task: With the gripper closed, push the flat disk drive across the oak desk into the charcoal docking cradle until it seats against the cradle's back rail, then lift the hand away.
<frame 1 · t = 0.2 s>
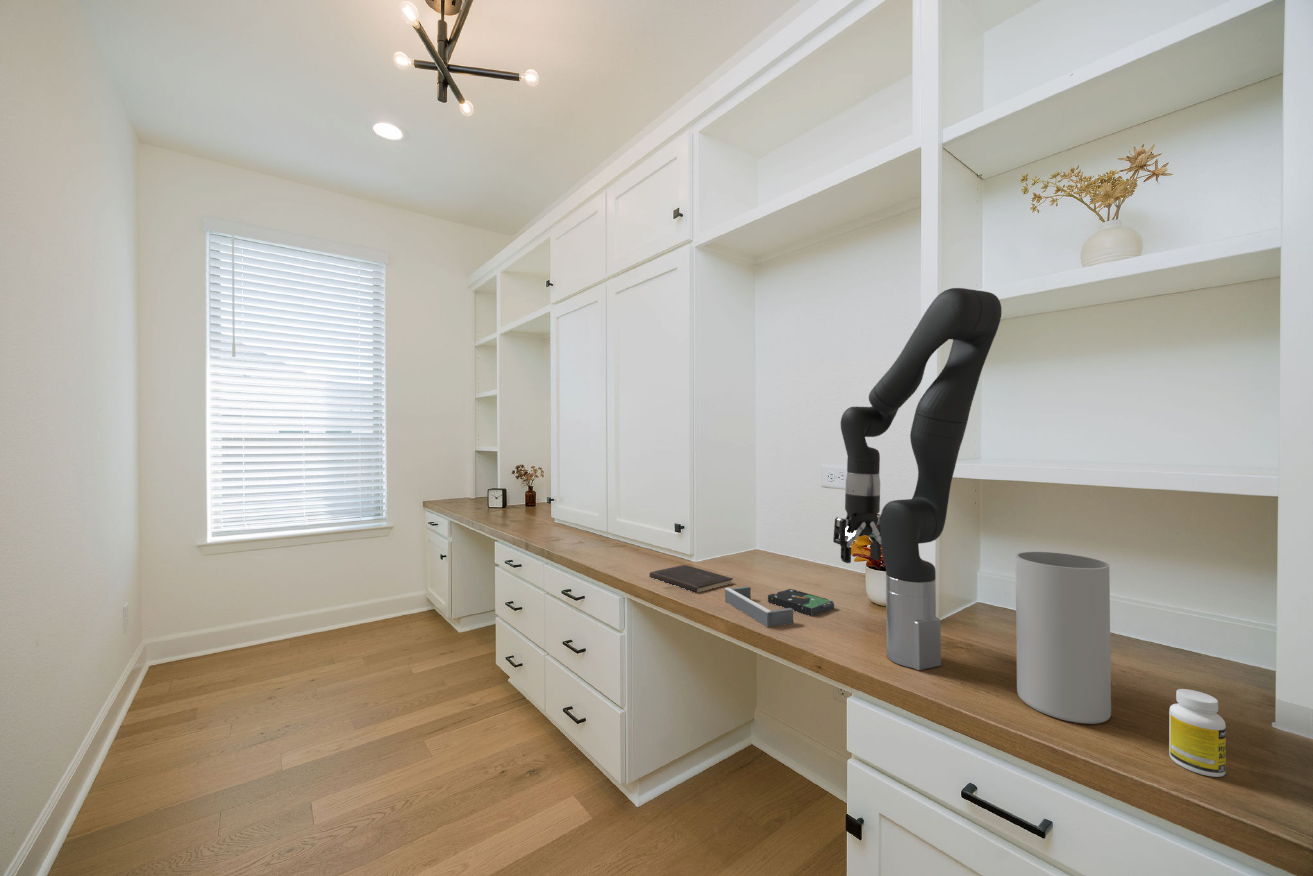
hand: (860, 560, 118), 17 cm above the worktop, tool pointing down, fingers open, 8 cm apart
cylinder vase: (1061, 706, 86), on the worktop
disk drive: (800, 608, 139), on the worktop
hardcover book: (690, 582, 164), on the worktop
supplement bottle: (1197, 767, 70), on the worktop
dock: (756, 611, 134), on the worktop
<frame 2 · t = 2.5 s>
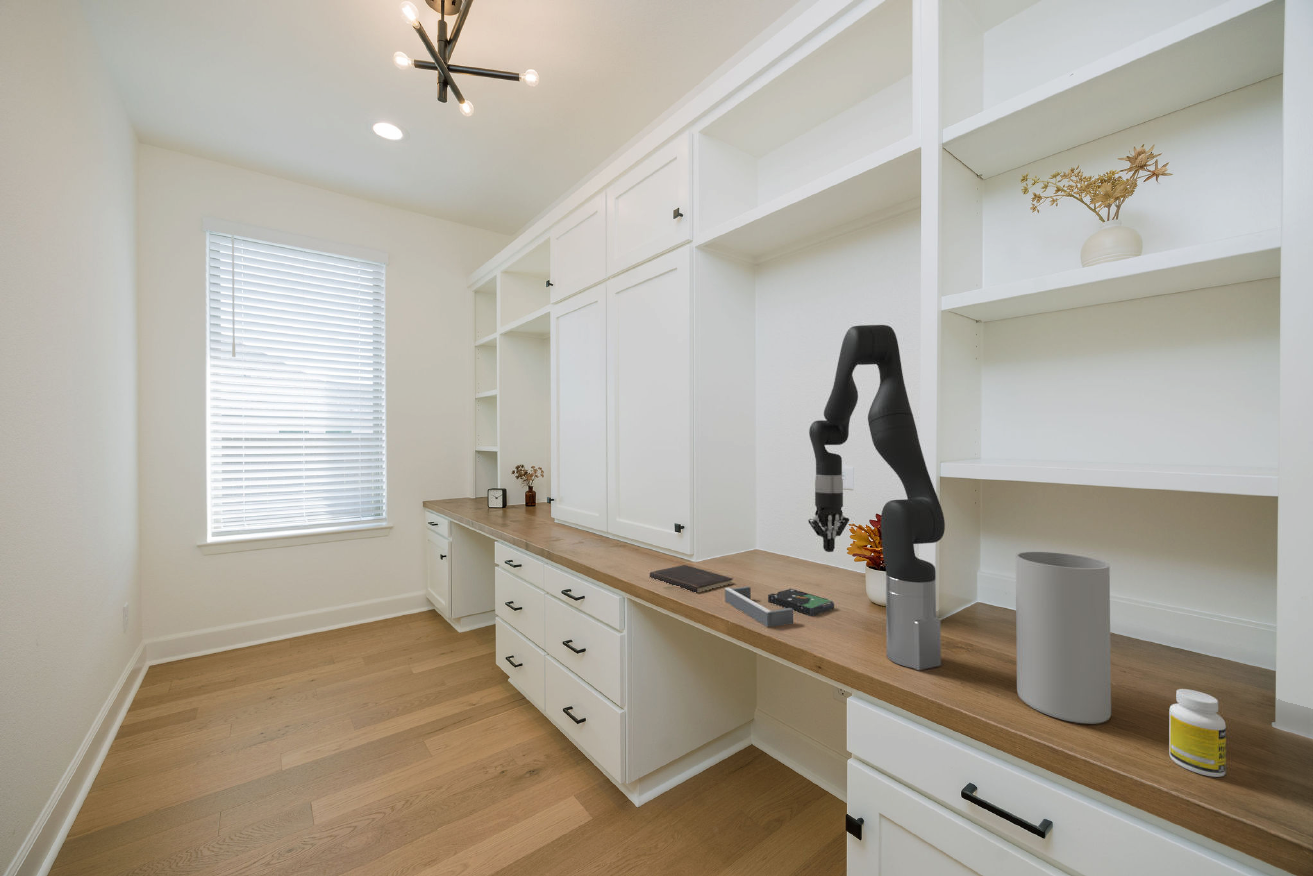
hand: (829, 551, 143), 14 cm above the worktop, tool pointing down, fingers closed
nothing on the worktop moved.
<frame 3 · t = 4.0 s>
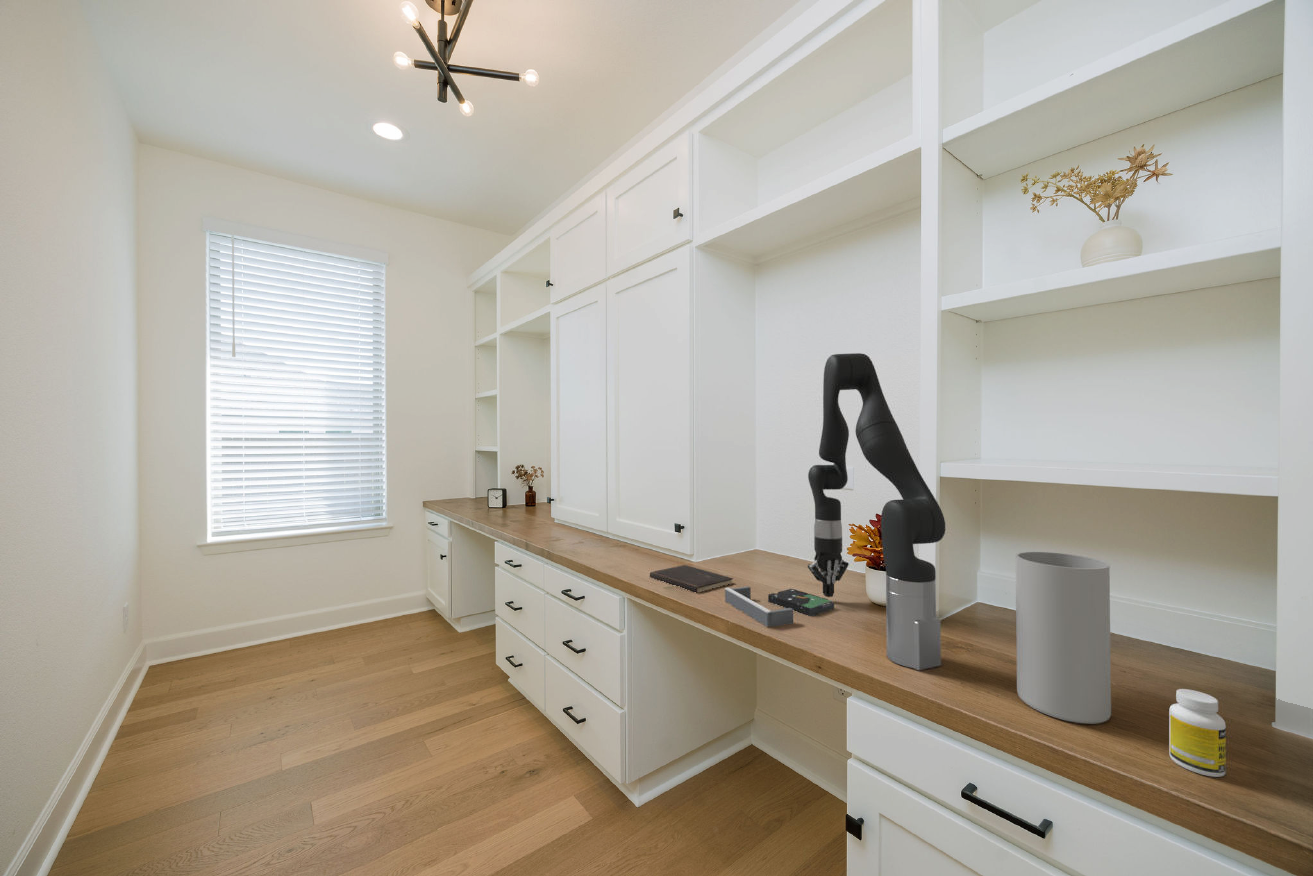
hand: (828, 596, 142), 1 cm above the worktop, tool pointing down, fingers closed
nothing on the worktop moved.
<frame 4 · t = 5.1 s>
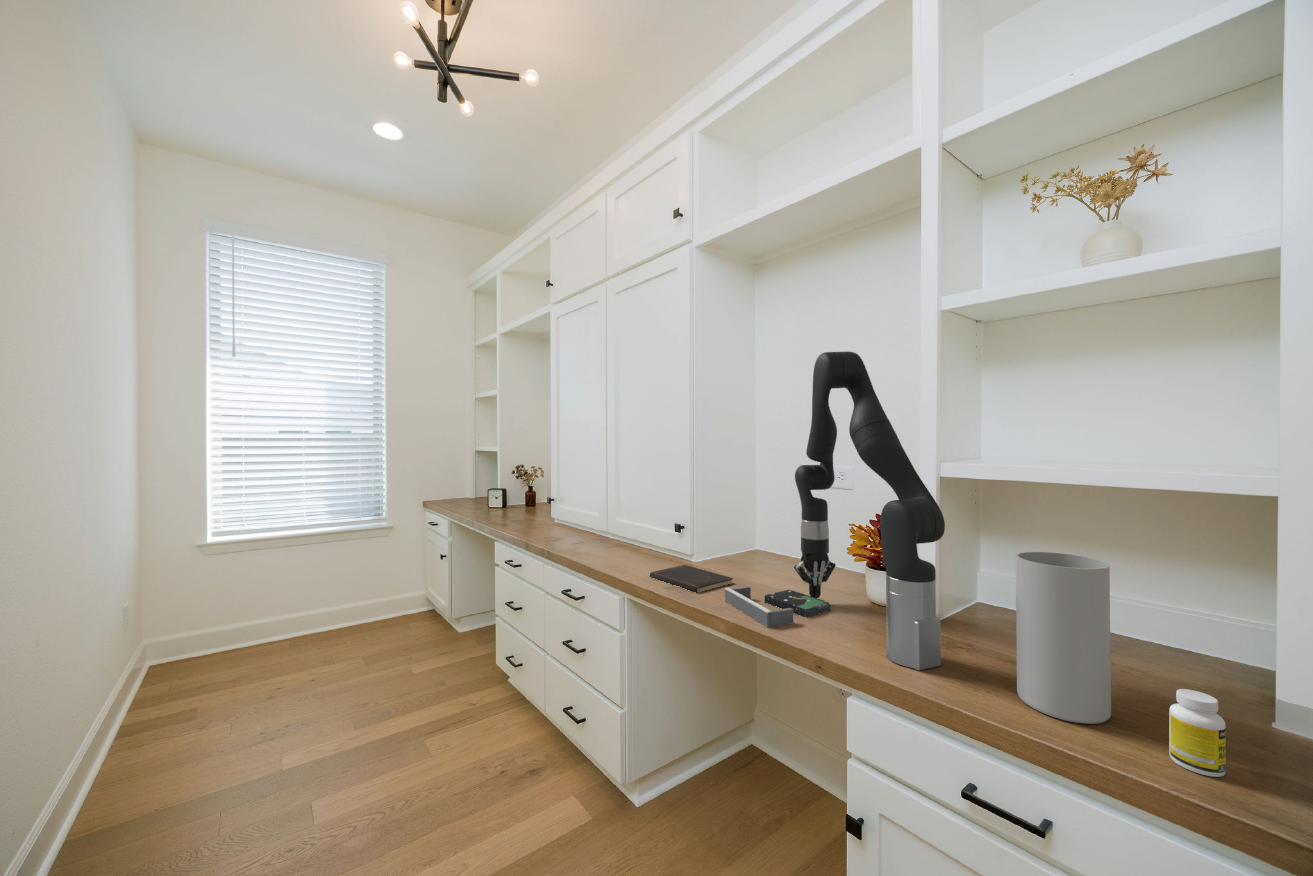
hand: (815, 597, 141), 2 cm above the worktop, tool pointing down, fingers closed
disk drive: (796, 609, 138), on the worktop, touching gripper
everything else where it was.
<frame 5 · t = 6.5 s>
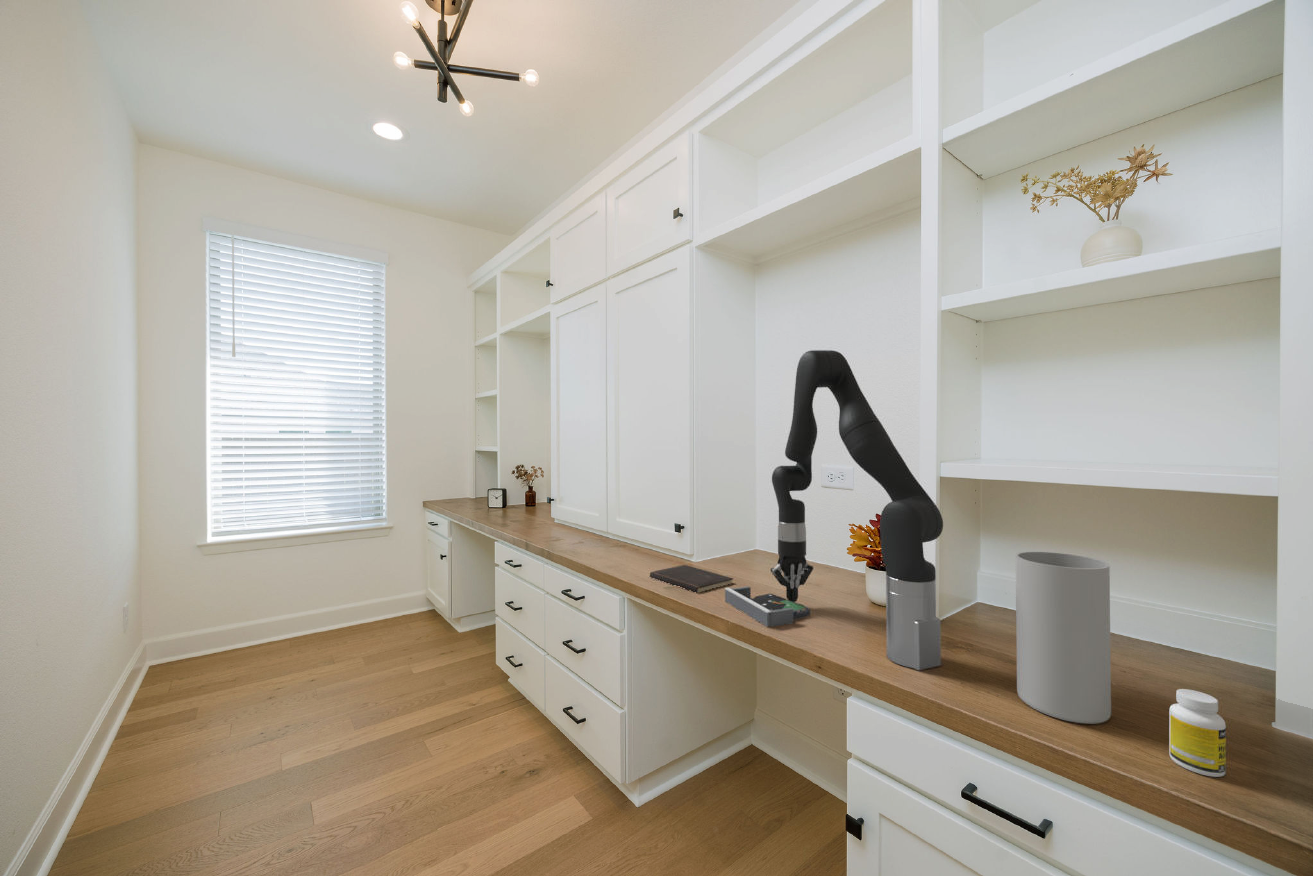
hand: (792, 600, 138), 2 cm above the worktop, tool pointing down, fingers closed
disk drive: (775, 613, 134), on the worktop, touching gripper
everything else where it was.
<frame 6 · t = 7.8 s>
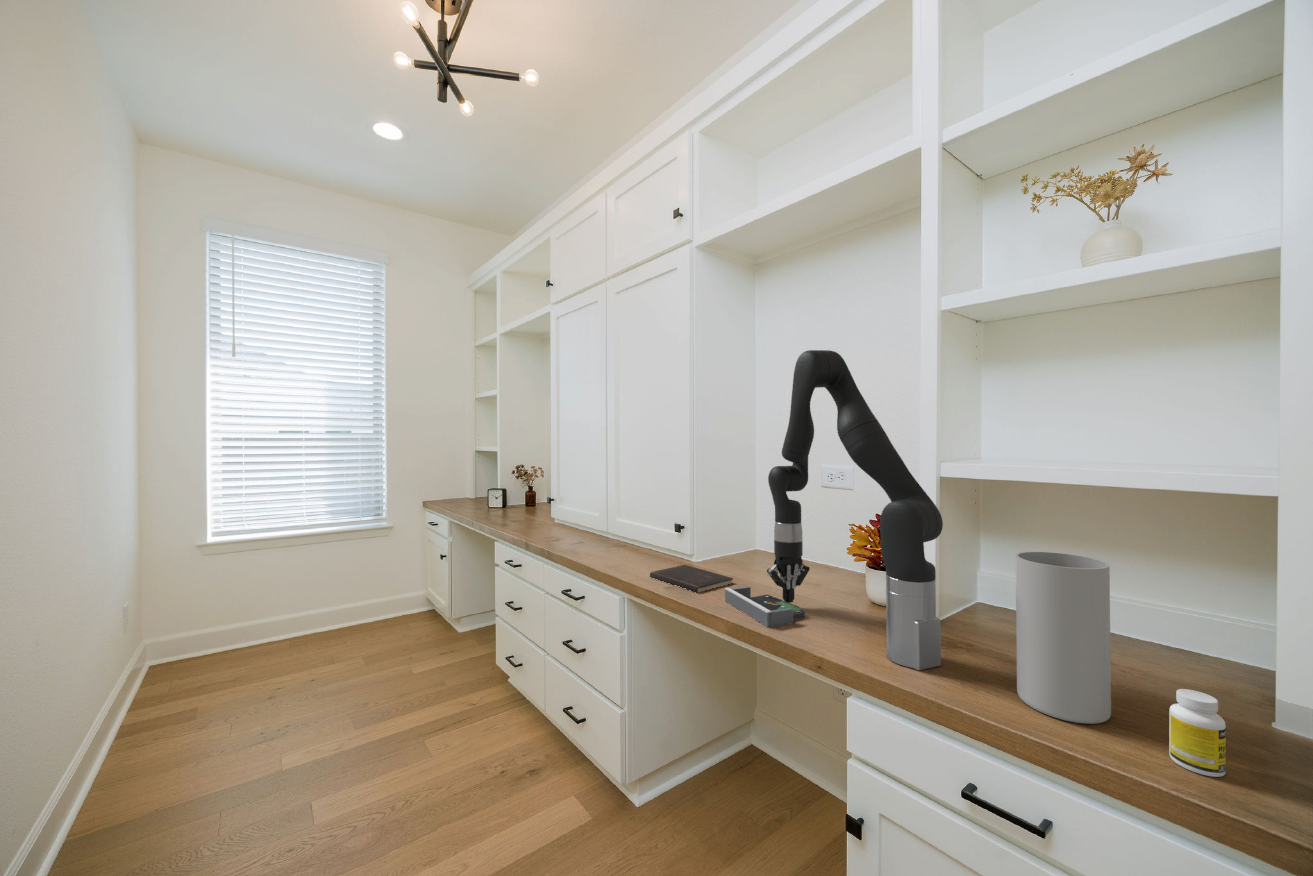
hand: (788, 601, 137), 1 cm above the worktop, tool pointing down, fingers closed
disk drive: (771, 614, 134), on the worktop
everything else where it was.
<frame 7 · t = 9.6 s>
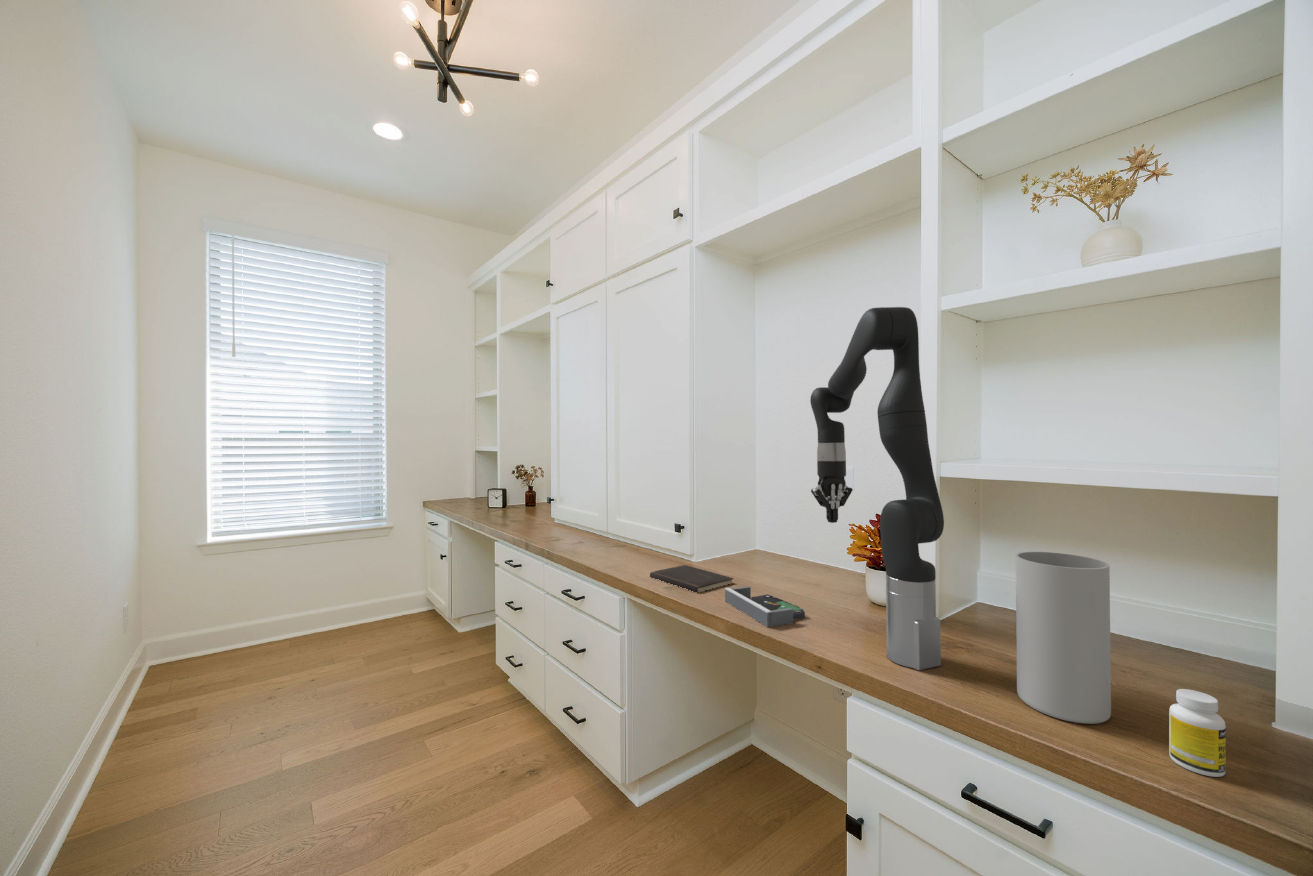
hand: (832, 522, 138), 23 cm above the worktop, tool pointing down, fingers closed
nothing on the worktop moved.
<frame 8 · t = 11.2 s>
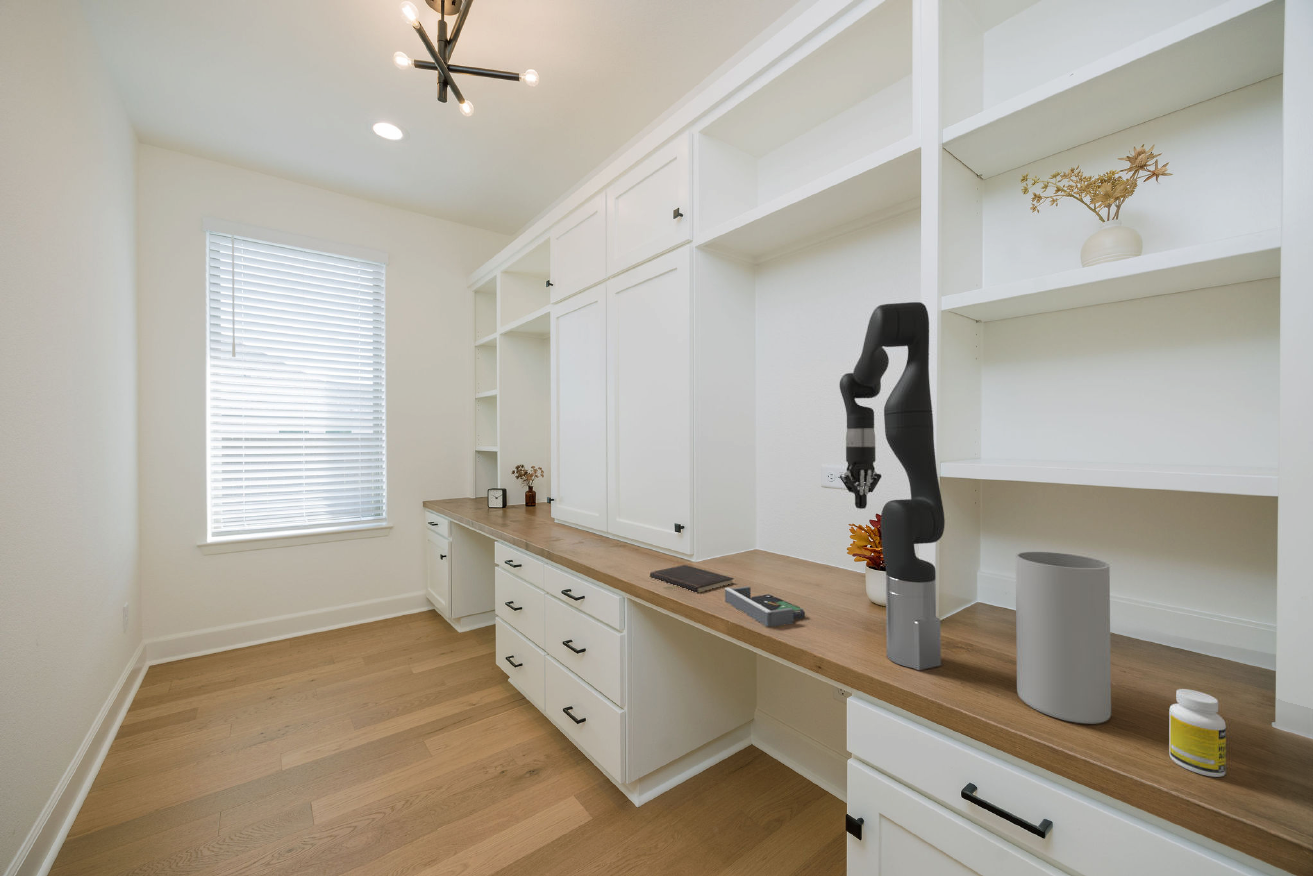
hand: (861, 508, 138), 27 cm above the worktop, tool pointing down, fingers closed
nothing on the worktop moved.
at the end: disk drive inside the target area (1.5 cm from its centre), on the worktop; disk drive moved 10.6 cm from its start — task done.
